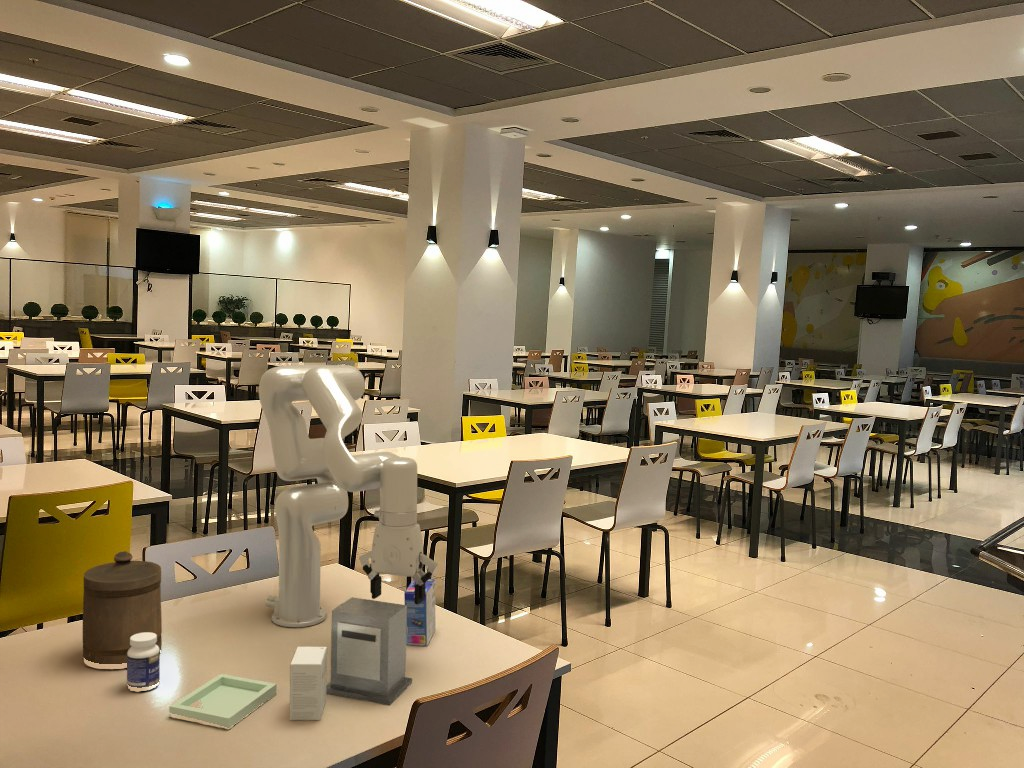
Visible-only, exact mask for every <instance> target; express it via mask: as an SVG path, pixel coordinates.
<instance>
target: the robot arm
mask: <svg viewBox="0 0 1024 768" xmlns="http://www.w3.org/2000/svg"><path fill="white" fill-rule="evenodd" d="M365 390H366V382H365V378H364V376H363V374H362V372H361V371H360V370H359V369H358V368H357V367H355V366H353V365H349V364H345V365H344V364H343V365H342V364H341V365H336V364H334V365H333V364H304V365H303V364H290V365H289V364H287V365H279V366H275V367H272V368H270V369H268V370H266V371H265V372H264V373H263V374H262V376H261V378H260V381H259V385H258V397H259V402H260V406H261V409H262V411H263V415H264V417H265V419H266V422H267V425H268V429H269V436H270V443H271V448H272V455H273V461H274V462H273V463H274V466H275V467H274V468H275V470H276V471H275V472H276V474H277V476H278V477H279V479H281V480H283V481H286V482H294V481H295V482H297V481H302V480H311V479H316V481H317V483H313V484H306V485H305V484H304V485H298V486H292V487H290V488H287V489H285V490H282V491H281V492H280V493H279V494H278V495H277V497H276V499H275V502H274V511H275V519H276V523H277V531H278V558H279V559H278V596H276V595H268V596H267V598H266V601H265V604H264V605H265V607H268V608H273V609H274V611H273V612H272V613H271V621H272V622H273V623H274V624H275V625H276V626H280V627H286V628H305V627H311V626H314V625H318V624H320V623H321V622H323V621H324V620H326V619H327V610H326V609H325V608H324V607H323V606H321V567H322V566H321V565H322V564H321V558H322V557H321V553H322V552H321V551H322V548H321V541H320V539H319V537H318V535H317V533H316V532H315V531H314V529H313V526H317V525H320V524H326V523H330V522H335V521H339V520H341V519H342V518H343V517H345V515H346V514H347V512H348V509H349V496H348V492H349V493H356V492H364V491H369V490H375V489H376V490H377V489H379V509H378V510H377V509H376V510H374V514H373V516H374V517H375V518H378V520H379V522H378V523H376V524H375V528H374V532H373V538H372V543H371V545H372V546H371V550H370V551H367V552H365V553H364V554H361V555H360V556H359V557H358V561H359V563H360V564H361V567H362V570H363V571H364V573H365V574H366V575H367V578H368V580H369V581H370V589H369V591H370V594H371V600H375V599H377V598H379V597H380V596H381V595H382V576H380V574H381V575H388V576H389V575H390V576H398V577H411V578H412V577H413V578H414V580H415V581H416V582H417V585H415V604H417V605H418V604H419V603H421V602H422V601H423V600H424V599H425V585H426V582H427V581H428V580H429V579H432V577H433V576H434V575H435V574H434V573H435V572H436V570H437V569H438V567H439V564H438V562H436V561H435V560H433V559H431V558H430V557H429V556H428V555H426V554H424V543H423V536H422V531H421V526H420V524H419V523H418V521H417V519H418V463H417V461H416V460H415V459H413V458H410V457H403V456H399V455H397V454H395V453H393V452H389V451H380V452H371V453H363V454H355V455H352V453H351V452H350V451H349V450H348V448H347V446H346V445H345V443H344V440H343V439H344V438H345V437H347V436H348V435H350V434H352V433H353V432H354V431H355V430H356V429H357V428H358V427H359V426H360V424H361V423H362V420H363V412H362V409H361V408H360V407H359V405H358V404H357V401H358V400H359V399H361V398H362V397H363V395H364V394H365ZM304 401H305V402H307V401H309V403H310V405H311V406H312V409H314V411H315V413H316V415H317V417H319V419H320V421H321V423H322V424H323V426H324V427H325V429H326V432H325V435H324V437H319V438H318V437H317V438H310V437H309V435H308V434H309V433H308V429H307V423H306V419H305V418H304V416H303V414H302V412H301V411H300V410H299V409H298V408H297V407H296V406H295V405H294V404H293V402H304ZM369 560H370V561H369ZM424 565H425V566H426V567H427V568H428V569H427V571H426V573H425V572H424V571H423V568H424ZM413 578H412V579H413Z"/></svg>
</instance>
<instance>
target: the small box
mask: <svg viewBox="0 0 1024 768" xmlns="http://www.w3.org/2000/svg"><path fill="white" fill-rule="evenodd" d="M327 676H328V647H327V646H297V647H296V650H295V651H294V655H293V657H292V660H291V662H290V664H289V721H320V720H321V717H322V715H323V710H324V707H325V704H326V700H327V694H326V686H327V682H328V681H327V678H328V677H327Z"/></svg>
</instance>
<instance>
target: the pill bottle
mask: <svg viewBox="0 0 1024 768" xmlns="http://www.w3.org/2000/svg"><path fill="white" fill-rule="evenodd" d="M156 642H157V635H156V634H155V633H151V632H144V633H138V634H135V635H133V636H131V637H130V645H131V646H132V647H131V648H130V649H129V650H128V653H127V669H126V685H127V684H128V685H129V686H131V687H137V688H142V687H149V686H152V685H155V684H157V683H158V682H159V683H160V681H159V680H160V678H161V677H160V674H161V673H160V670H161V669H160V662H161V661H160V659H161V658H160V655H161V653H160V649H159V647H158V646H157V645H156V644H155V643H156Z"/></svg>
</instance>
